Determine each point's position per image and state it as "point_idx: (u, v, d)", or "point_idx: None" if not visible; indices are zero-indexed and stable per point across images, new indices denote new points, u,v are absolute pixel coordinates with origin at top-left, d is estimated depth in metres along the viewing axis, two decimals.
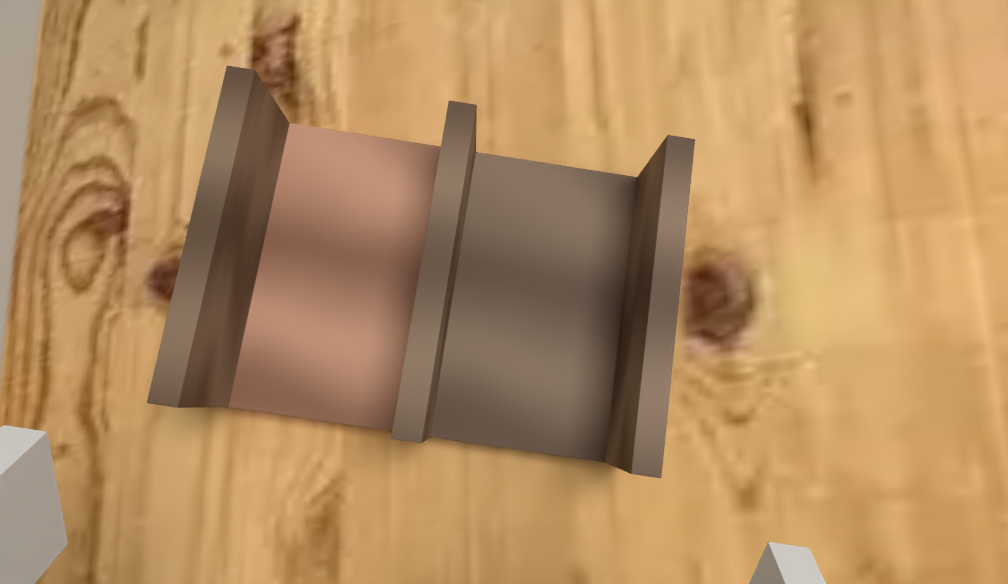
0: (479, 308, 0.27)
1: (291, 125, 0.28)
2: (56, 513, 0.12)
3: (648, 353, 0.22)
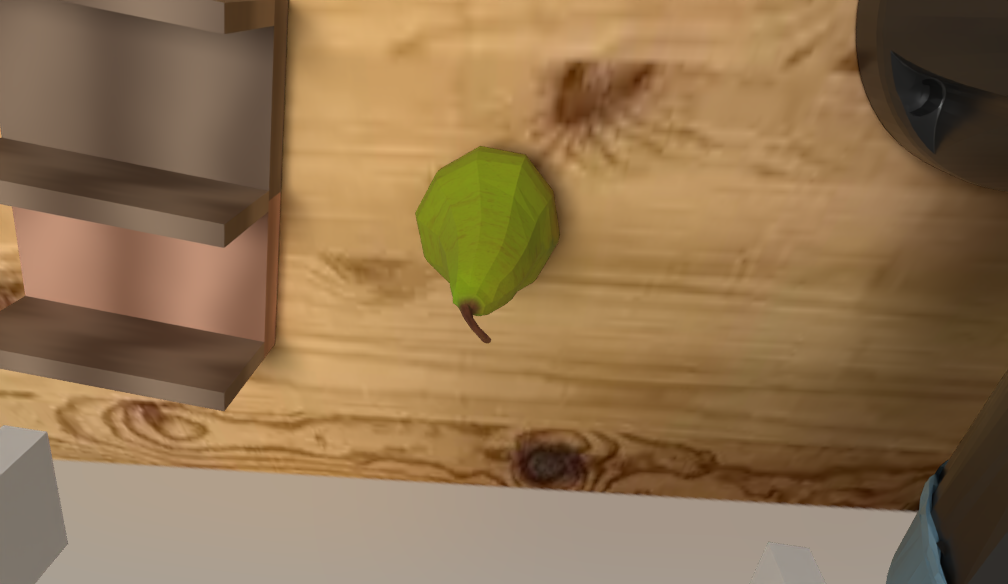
0: (148, 141, 0.29)
1: (27, 294, 0.33)
2: (55, 513, 0.12)
3: (105, 5, 0.22)
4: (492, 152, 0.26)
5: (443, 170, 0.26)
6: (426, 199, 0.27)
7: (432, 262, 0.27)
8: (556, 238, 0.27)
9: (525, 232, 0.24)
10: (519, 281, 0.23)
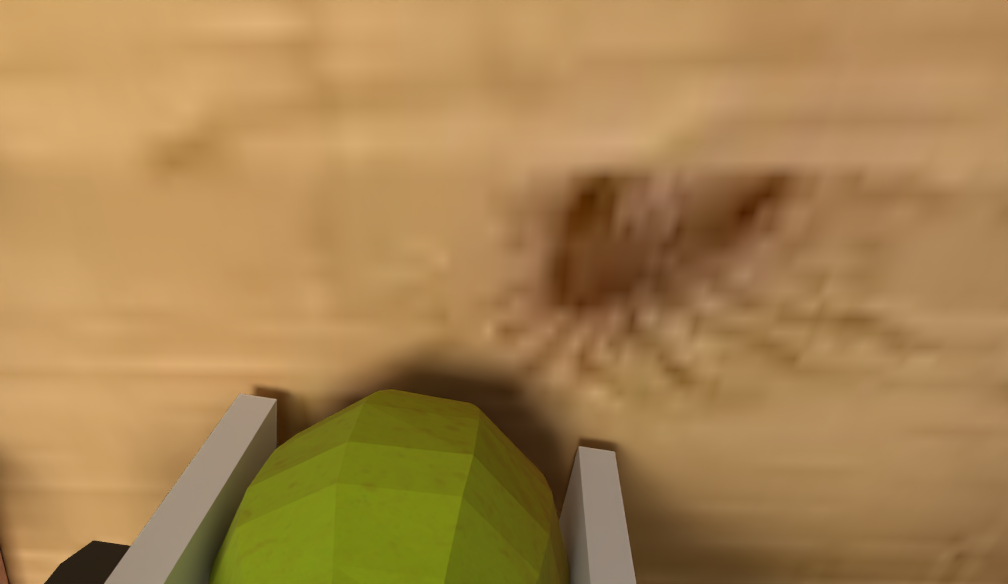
0: None
1: None
2: None
3: None
4: (387, 440, 0.10)
5: (262, 486, 0.10)
6: (220, 564, 0.10)
7: None
8: None
9: None
10: None
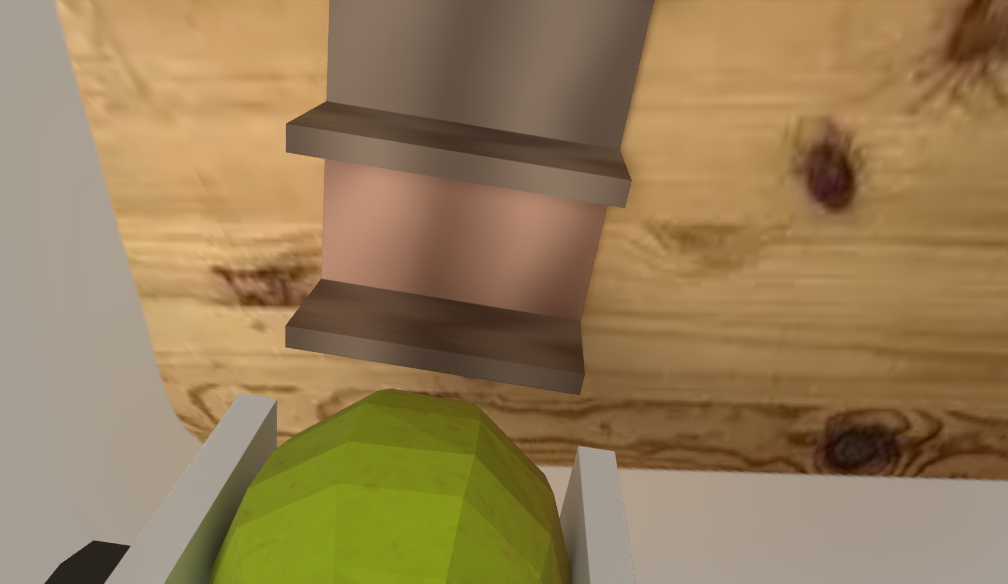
0: (492, 99, 0.26)
1: (323, 276, 0.30)
2: None
3: None
4: (388, 440, 0.10)
5: (262, 487, 0.10)
6: (220, 564, 0.10)
7: None
8: None
9: None
10: None
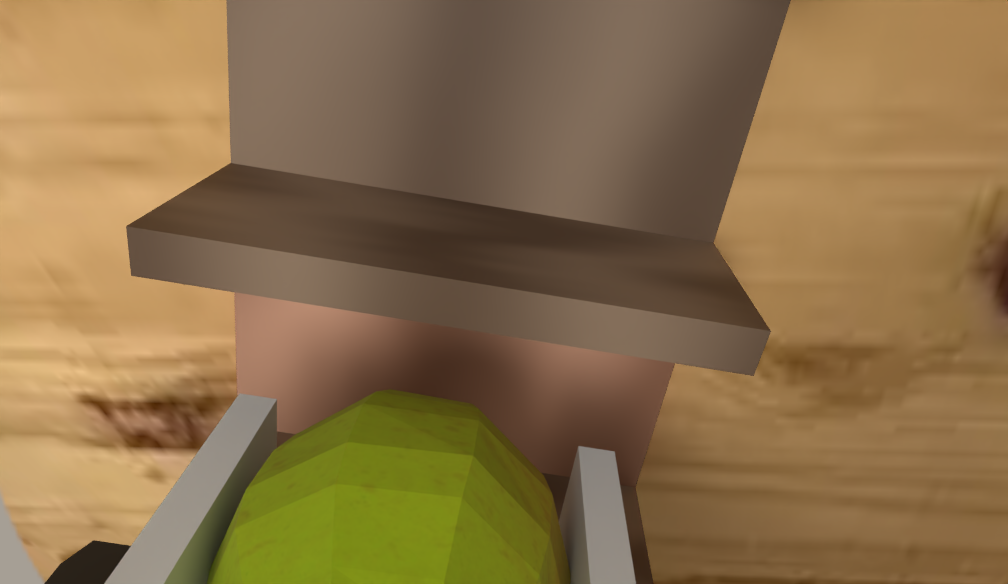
0: (506, 161, 0.16)
1: None
2: None
3: None
4: (387, 440, 0.10)
5: (261, 487, 0.10)
6: (218, 565, 0.10)
7: None
8: None
9: None
10: None
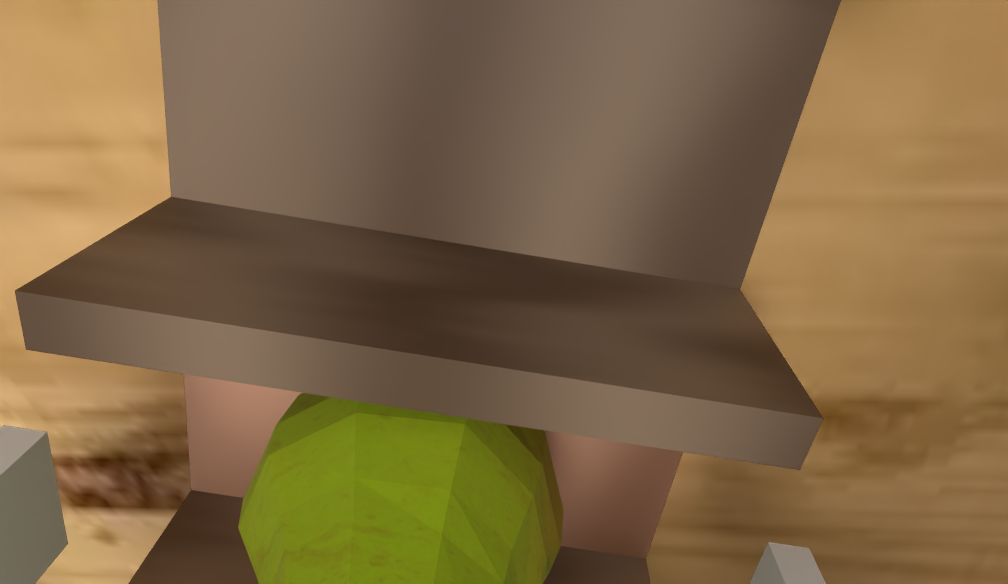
0: (497, 196, 0.13)
1: (194, 487, 0.17)
2: (56, 512, 0.12)
3: None
4: None
5: (289, 422, 0.11)
6: (253, 490, 0.11)
7: None
8: (556, 544, 0.12)
9: None
10: None
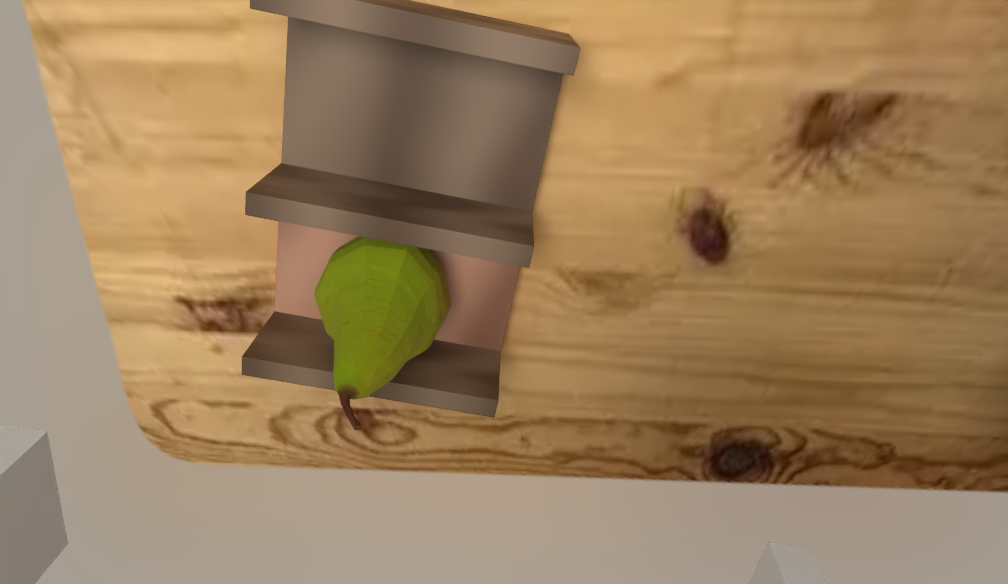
0: (424, 166, 0.31)
1: (276, 309, 0.34)
2: (56, 512, 0.12)
3: (467, 49, 0.24)
4: None
5: (337, 253, 0.29)
6: (322, 279, 0.29)
7: (330, 336, 0.29)
8: (445, 310, 0.30)
9: (406, 315, 0.27)
10: (399, 362, 0.26)
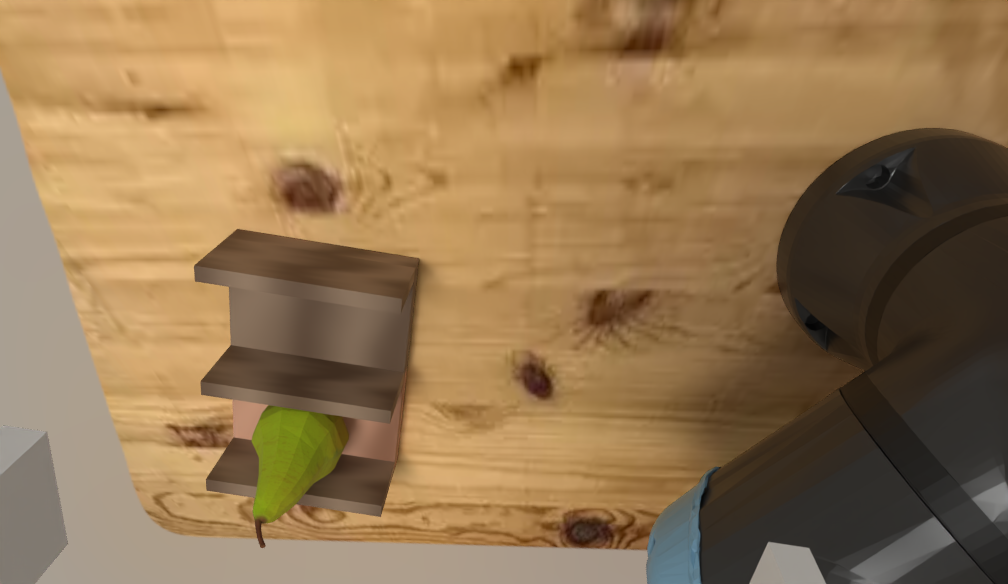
0: (327, 345, 0.45)
1: (234, 436, 0.49)
2: (55, 513, 0.12)
3: (331, 300, 0.38)
4: None
5: (265, 412, 0.43)
6: (255, 430, 0.43)
7: None
8: (341, 447, 0.44)
9: (304, 461, 0.41)
10: (299, 494, 0.40)
